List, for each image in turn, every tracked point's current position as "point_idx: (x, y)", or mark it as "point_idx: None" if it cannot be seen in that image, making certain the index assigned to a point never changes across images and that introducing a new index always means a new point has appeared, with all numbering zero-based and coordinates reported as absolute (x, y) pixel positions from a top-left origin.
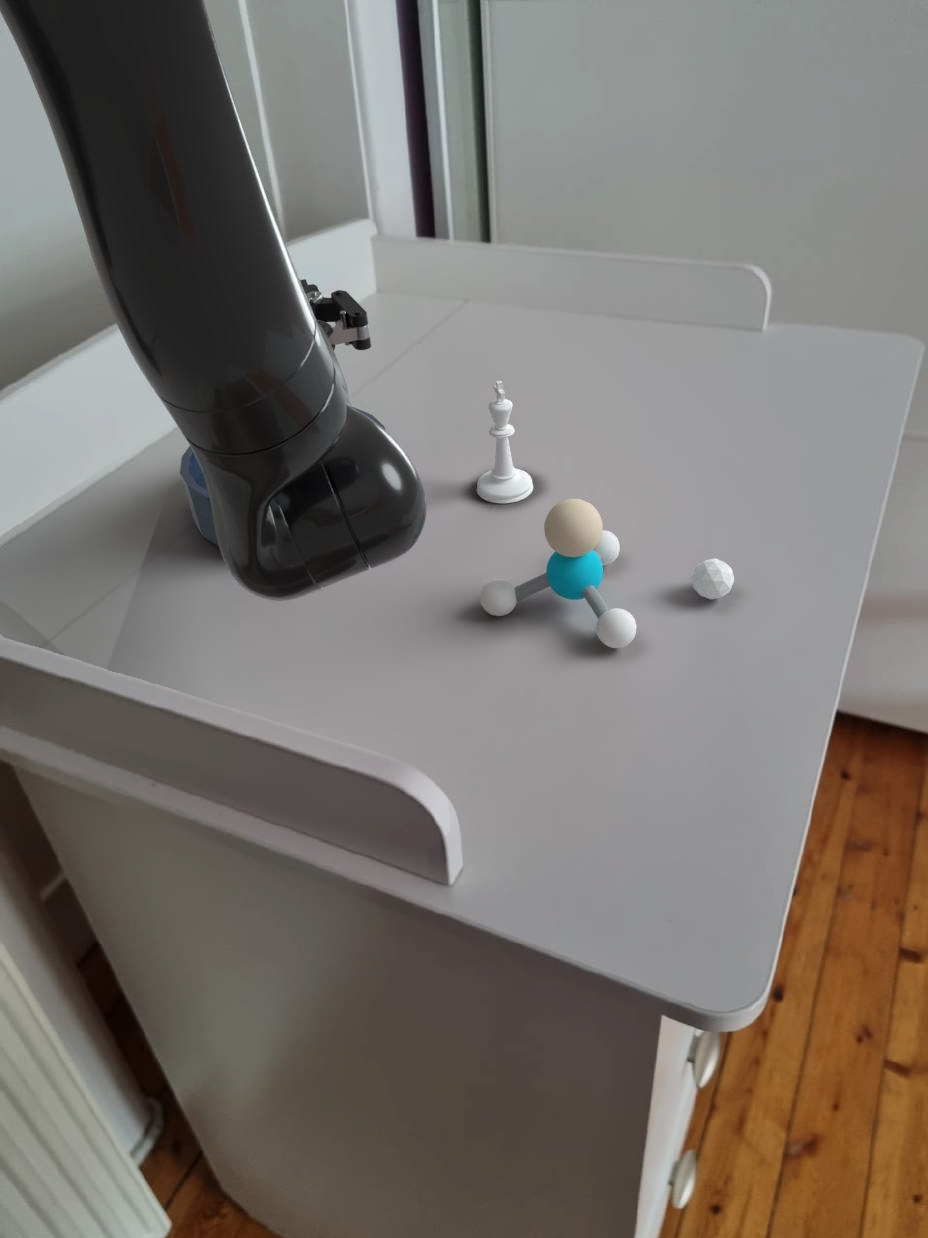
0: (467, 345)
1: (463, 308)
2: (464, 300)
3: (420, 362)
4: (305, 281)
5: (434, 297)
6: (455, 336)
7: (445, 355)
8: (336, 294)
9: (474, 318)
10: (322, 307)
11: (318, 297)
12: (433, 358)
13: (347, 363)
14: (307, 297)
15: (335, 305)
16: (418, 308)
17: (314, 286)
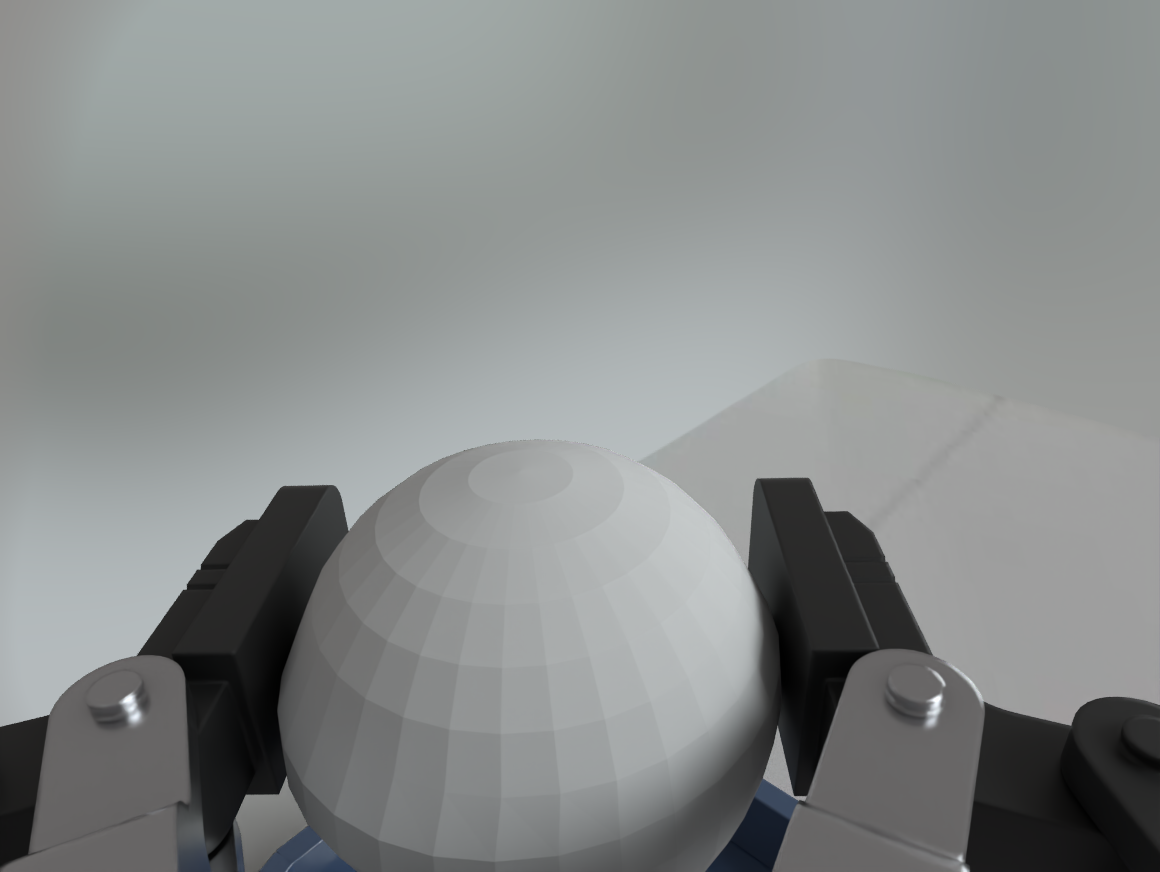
0: (1037, 514)
1: (997, 413)
2: (994, 395)
3: (932, 543)
4: (812, 502)
5: (929, 379)
6: (1000, 482)
7: (990, 534)
8: (1134, 763)
9: (1030, 442)
10: (975, 823)
11: (976, 771)
12: (962, 537)
13: None
14: (870, 733)
15: (1108, 852)
16: (902, 398)
17: (859, 536)
